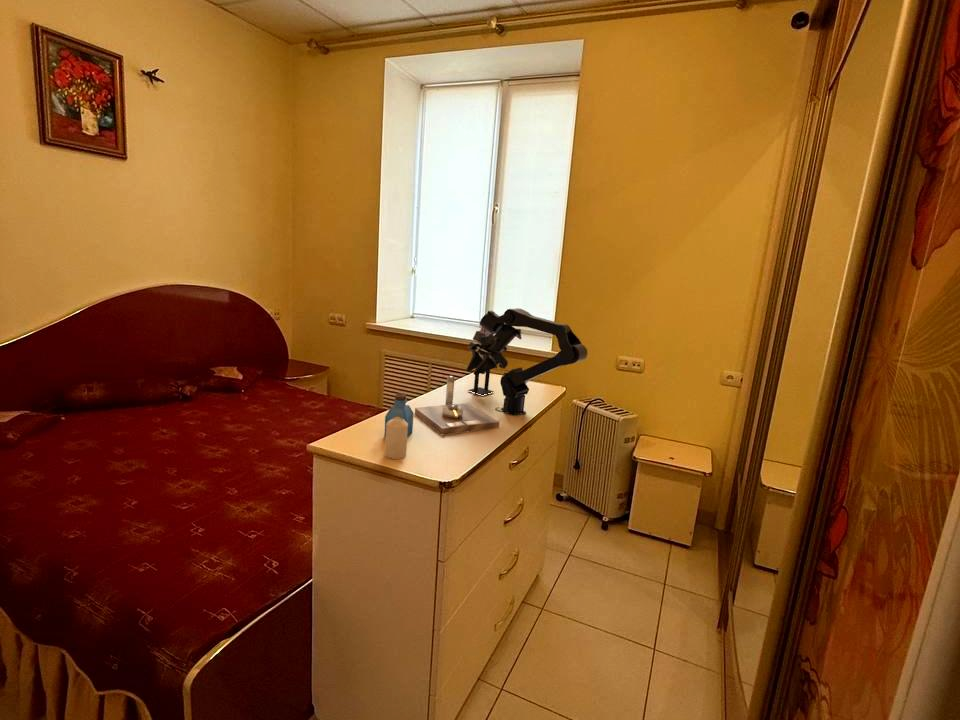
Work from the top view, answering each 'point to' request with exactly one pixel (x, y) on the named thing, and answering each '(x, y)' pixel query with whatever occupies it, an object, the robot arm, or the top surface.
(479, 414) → the stand
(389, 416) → the perfume bottle
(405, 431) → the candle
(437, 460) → the top surface
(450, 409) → the metal post and dome
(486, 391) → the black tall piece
